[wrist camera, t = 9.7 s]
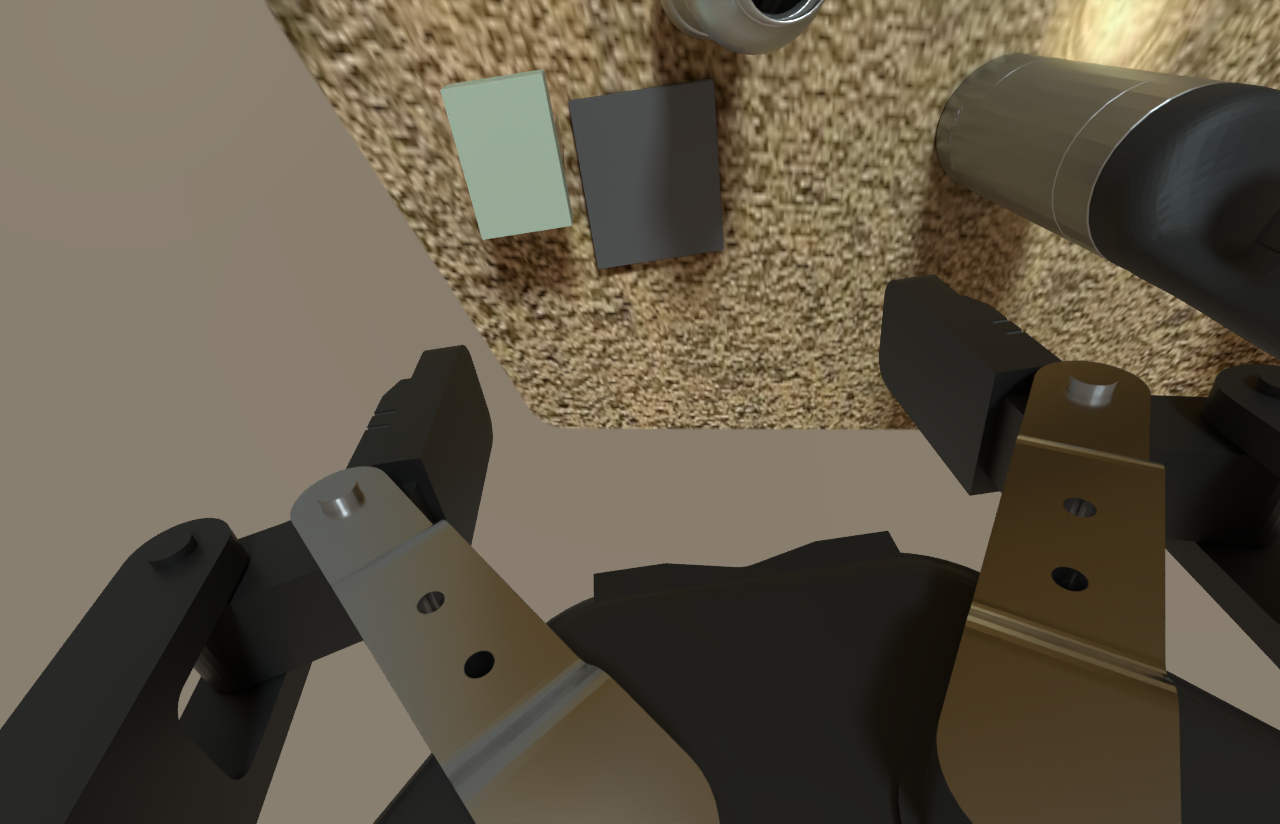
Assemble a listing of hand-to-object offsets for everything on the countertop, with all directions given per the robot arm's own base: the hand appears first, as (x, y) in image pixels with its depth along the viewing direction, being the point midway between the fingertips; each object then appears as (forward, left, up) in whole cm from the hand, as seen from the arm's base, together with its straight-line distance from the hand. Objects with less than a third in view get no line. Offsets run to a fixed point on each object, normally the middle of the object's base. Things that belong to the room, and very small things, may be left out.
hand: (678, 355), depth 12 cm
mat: (-2, +6, -38) cm, 39 cm away
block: (+7, +2, -34) cm, 34 cm away
